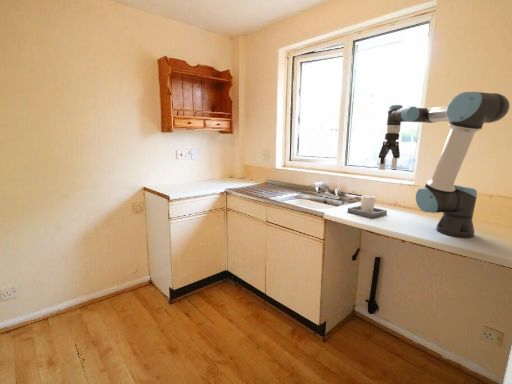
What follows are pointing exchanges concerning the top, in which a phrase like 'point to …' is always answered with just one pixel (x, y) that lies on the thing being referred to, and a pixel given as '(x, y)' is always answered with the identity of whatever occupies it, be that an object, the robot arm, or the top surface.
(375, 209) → the tray
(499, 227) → the top surface
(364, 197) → the white cup
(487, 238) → the top surface
